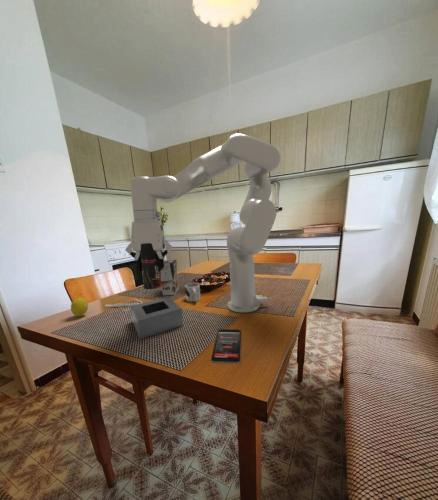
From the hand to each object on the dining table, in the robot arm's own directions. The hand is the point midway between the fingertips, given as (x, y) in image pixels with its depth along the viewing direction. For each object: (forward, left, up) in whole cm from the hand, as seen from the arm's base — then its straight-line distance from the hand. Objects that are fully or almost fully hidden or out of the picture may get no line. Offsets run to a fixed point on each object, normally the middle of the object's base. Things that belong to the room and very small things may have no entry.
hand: (151, 270), depth 69 cm
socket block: (0, 0, -19) cm, 19 cm away
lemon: (+33, -10, -20) cm, 40 cm away
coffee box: (+2, -33, -20) cm, 38 cm away
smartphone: (-24, +15, -20) cm, 35 cm away
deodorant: (0, 0, -6) cm, 6 cm away
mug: (-11, -20, -20) cm, 30 cm away
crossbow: (+19, -18, -20) cm, 33 cm away
